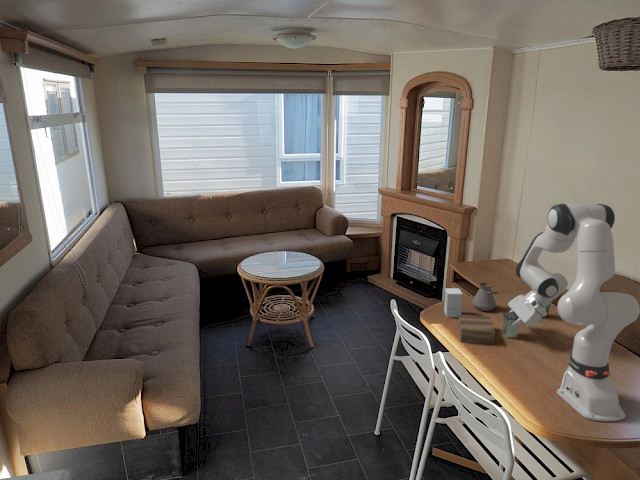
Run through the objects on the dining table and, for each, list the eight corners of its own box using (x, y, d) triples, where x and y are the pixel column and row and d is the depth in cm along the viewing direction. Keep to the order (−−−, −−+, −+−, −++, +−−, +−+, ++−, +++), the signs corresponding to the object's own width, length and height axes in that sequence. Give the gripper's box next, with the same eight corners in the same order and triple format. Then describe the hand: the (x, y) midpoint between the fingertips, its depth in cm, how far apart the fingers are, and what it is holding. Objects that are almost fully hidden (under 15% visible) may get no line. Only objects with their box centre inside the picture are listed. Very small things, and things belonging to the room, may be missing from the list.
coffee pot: (468, 303, 244) (470, 276, 239) (490, 303, 244) (492, 276, 240) (483, 322, 223) (486, 293, 219) (507, 321, 223) (510, 292, 219)
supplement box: (458, 311, 235) (460, 288, 231) (461, 317, 228) (463, 294, 224) (443, 310, 236) (445, 287, 232) (445, 317, 229) (447, 293, 225)
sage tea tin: (517, 337, 208) (519, 317, 205) (505, 338, 208) (507, 317, 205) (512, 332, 213) (515, 312, 210) (501, 332, 213) (503, 312, 210)
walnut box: (494, 345, 203) (495, 332, 201) (460, 342, 206) (461, 330, 204) (489, 328, 218) (490, 316, 216) (457, 325, 221) (458, 314, 219)
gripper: (519, 288, 215) (496, 308, 218) (539, 307, 195) (513, 328, 198) (528, 297, 216) (505, 316, 219) (548, 316, 197) (523, 337, 200)
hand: (509, 322), depth 209 cm, fingers closed on sage tea tin, 5 cm apart
